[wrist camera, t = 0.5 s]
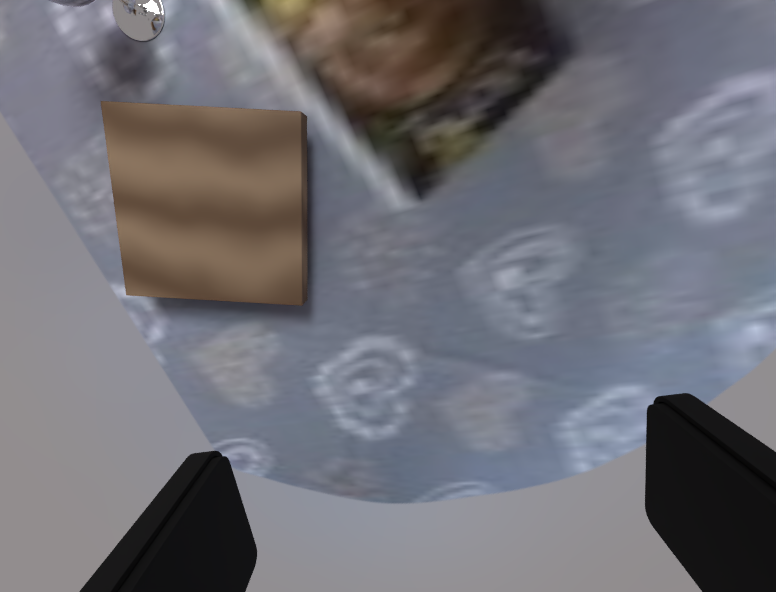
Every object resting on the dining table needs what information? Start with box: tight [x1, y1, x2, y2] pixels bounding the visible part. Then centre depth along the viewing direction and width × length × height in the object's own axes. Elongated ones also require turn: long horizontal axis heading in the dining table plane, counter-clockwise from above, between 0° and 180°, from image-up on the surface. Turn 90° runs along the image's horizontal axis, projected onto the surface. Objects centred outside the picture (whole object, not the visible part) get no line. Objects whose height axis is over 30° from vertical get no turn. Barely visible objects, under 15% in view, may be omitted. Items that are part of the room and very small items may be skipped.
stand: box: [101, 101, 307, 306], centre depth 34 cm, size 16×16×4 cm
